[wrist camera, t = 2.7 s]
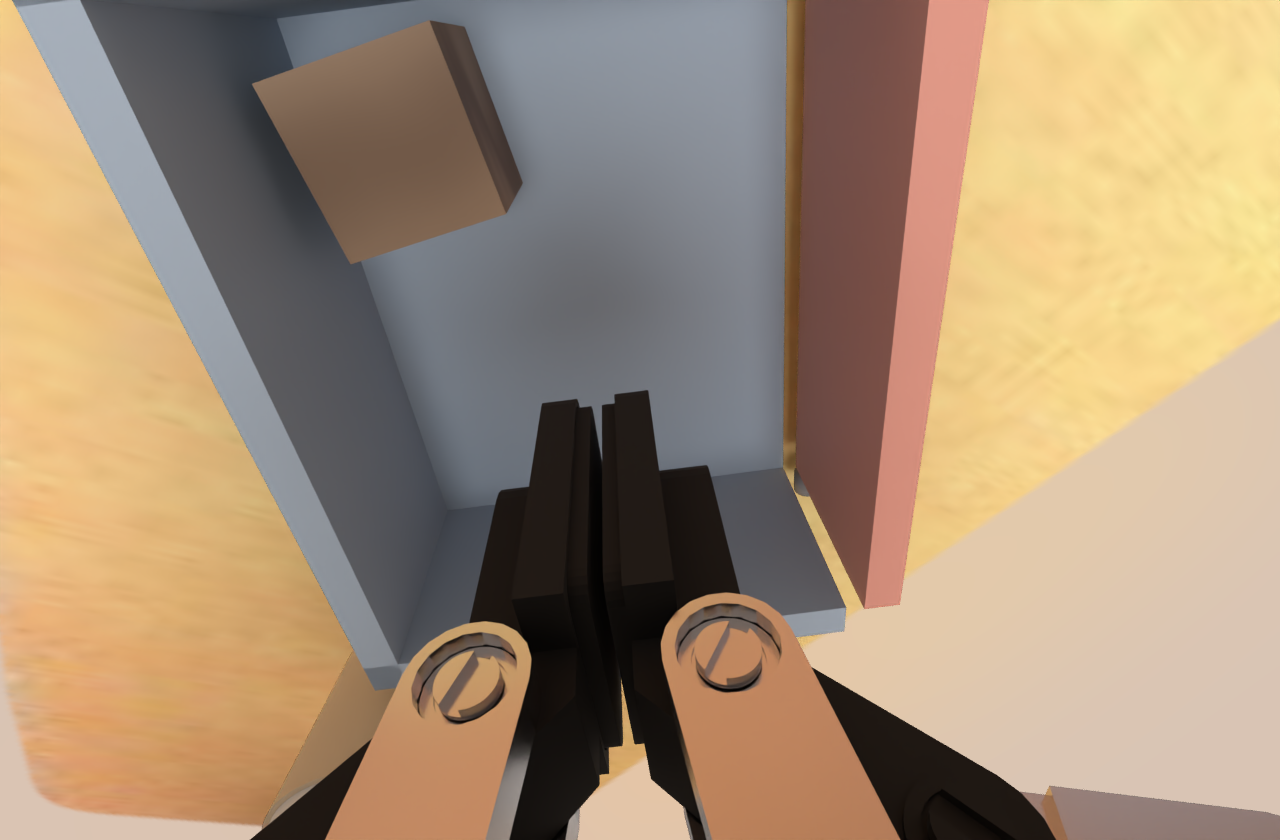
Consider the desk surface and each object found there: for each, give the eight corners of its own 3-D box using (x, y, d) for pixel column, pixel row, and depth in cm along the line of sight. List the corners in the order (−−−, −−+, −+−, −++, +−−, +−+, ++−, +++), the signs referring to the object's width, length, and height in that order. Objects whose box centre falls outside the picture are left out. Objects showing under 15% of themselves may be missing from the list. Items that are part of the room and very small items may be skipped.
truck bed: (810, 469, 25) (891, 625, 18) (434, 517, 25) (375, 690, 18) (831, -99, 16) (1008, -211, 9) (239, -21, 16) (-27, -73, 9)
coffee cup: (607, 611, 29) (618, 1066, 16) (464, 693, 31) (372, 1148, 18) (467, 488, 25) (329, 964, 12) (315, 594, 27) (61, 1087, 14)
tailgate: (832, 461, 24) (914, 602, 18) (795, 466, 24) (864, 609, 18) (861, -50, 16) (1031, -113, 9) (806, -43, 16) (939, -101, 10)
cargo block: (522, 183, 18) (506, 213, 15) (396, 224, 18) (350, 264, 15) (464, 26, 16) (428, 20, 13) (323, 77, 16) (251, 84, 13)
